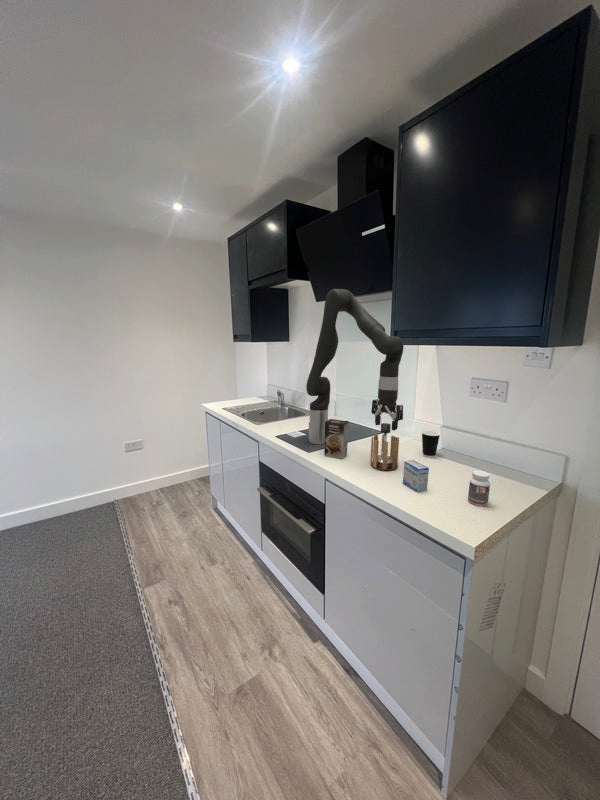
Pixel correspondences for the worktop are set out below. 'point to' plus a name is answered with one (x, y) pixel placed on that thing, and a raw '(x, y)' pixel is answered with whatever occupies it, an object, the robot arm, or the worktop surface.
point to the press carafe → (384, 454)
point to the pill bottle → (479, 488)
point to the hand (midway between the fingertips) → (385, 427)
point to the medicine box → (415, 475)
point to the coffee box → (336, 438)
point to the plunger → (385, 429)
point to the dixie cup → (430, 442)
